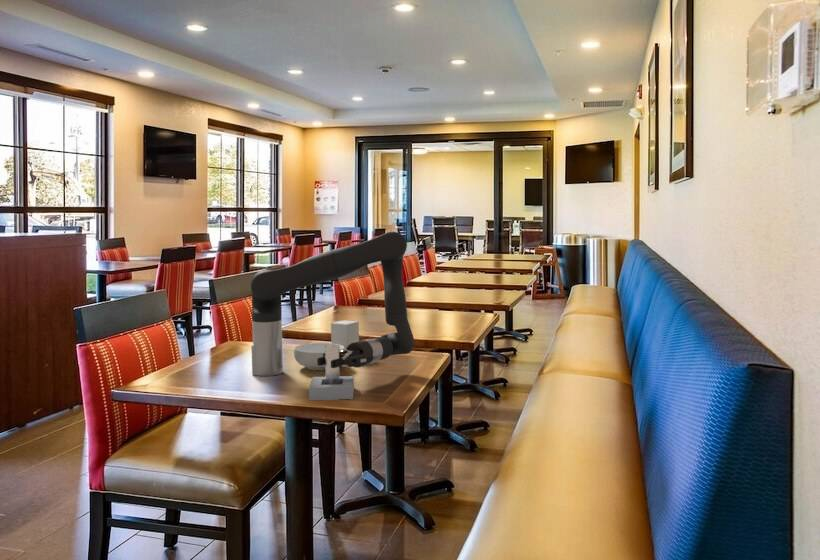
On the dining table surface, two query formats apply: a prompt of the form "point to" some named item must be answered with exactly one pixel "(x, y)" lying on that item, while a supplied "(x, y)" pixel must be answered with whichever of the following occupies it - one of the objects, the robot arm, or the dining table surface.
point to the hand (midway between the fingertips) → (325, 363)
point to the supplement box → (344, 332)
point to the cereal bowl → (311, 354)
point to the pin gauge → (330, 373)
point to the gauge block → (331, 389)
